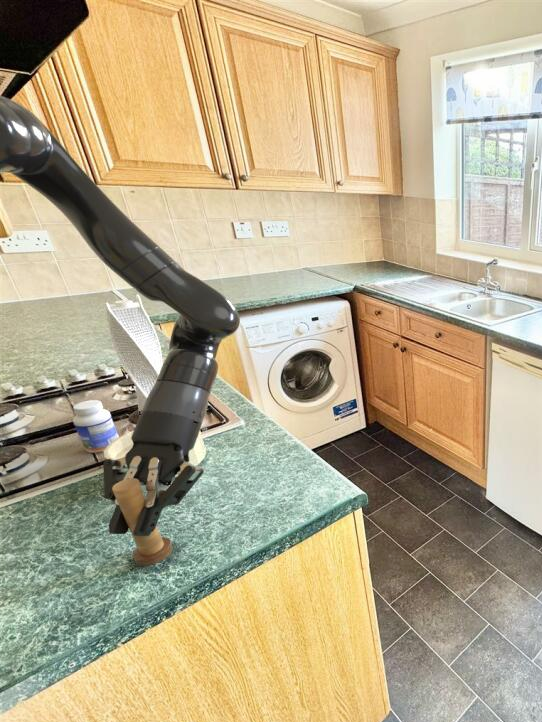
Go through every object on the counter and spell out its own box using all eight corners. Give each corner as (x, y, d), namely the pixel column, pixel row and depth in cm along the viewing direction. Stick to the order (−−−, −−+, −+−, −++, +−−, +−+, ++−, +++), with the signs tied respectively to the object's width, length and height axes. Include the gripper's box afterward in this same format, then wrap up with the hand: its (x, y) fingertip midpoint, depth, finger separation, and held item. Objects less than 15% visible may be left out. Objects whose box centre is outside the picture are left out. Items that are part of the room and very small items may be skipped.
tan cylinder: (127, 567, 60) (95, 495, 55) (148, 543, 64) (119, 475, 59) (161, 565, 61) (132, 494, 55) (179, 542, 65) (153, 474, 59)
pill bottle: (82, 447, 85) (63, 405, 81) (116, 436, 89) (99, 395, 85) (90, 456, 82) (71, 413, 78) (125, 445, 87) (108, 403, 82)
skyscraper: (188, 404, 103) (154, 291, 91) (165, 419, 96) (125, 299, 84) (156, 402, 103) (118, 289, 91) (130, 417, 96) (85, 297, 84)
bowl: (93, 489, 74) (82, 464, 72) (146, 445, 87) (138, 422, 85) (181, 486, 76) (172, 461, 74) (220, 443, 89) (214, 421, 87)
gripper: (106, 405, 61) (52, 530, 55) (201, 412, 60) (156, 539, 54) (148, 418, 68) (105, 531, 62) (233, 425, 67) (197, 539, 62)
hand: (129, 534), depth 58 cm, fingers closed on tan cylinder, 3 cm apart
